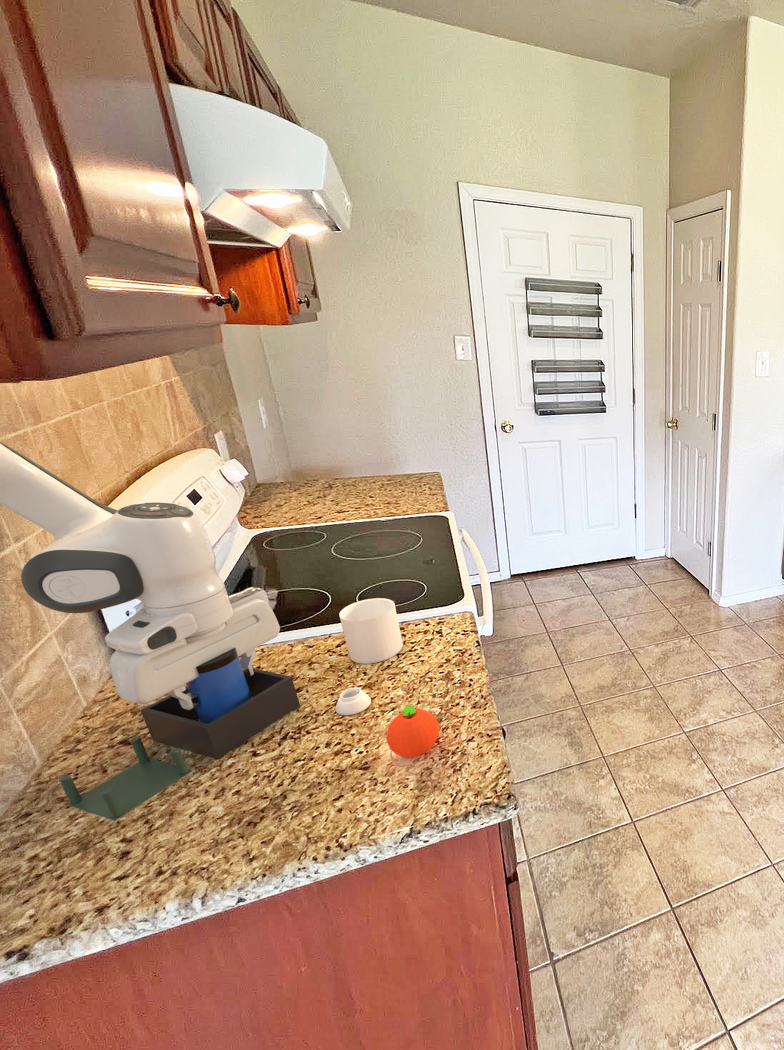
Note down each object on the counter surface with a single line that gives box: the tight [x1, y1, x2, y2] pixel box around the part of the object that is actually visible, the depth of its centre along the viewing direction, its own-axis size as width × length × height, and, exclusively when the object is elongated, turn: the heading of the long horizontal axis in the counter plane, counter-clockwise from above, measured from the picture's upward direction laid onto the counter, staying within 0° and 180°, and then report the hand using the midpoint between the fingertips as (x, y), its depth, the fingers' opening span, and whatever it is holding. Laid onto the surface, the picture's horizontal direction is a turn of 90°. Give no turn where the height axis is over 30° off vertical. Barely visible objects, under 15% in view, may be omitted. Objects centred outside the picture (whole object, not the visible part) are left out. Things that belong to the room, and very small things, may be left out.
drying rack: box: [58, 736, 194, 822], centre depth 77 cm, size 9×9×5 cm
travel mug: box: [185, 648, 252, 724], centre depth 87 cm, size 7×7×10 cm
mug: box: [338, 597, 404, 665], centre depth 110 cm, size 12×9×9 cm
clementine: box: [386, 704, 440, 758], centre depth 85 cm, size 8×7×7 cm
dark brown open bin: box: [139, 667, 301, 760], centre depth 89 cm, size 13×13×7 cm
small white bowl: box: [334, 687, 372, 716], centre depth 95 cm, size 5×3×5 cm
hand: (219, 691), depth 87 cm, fingers closed on travel mug, 6 cm apart
